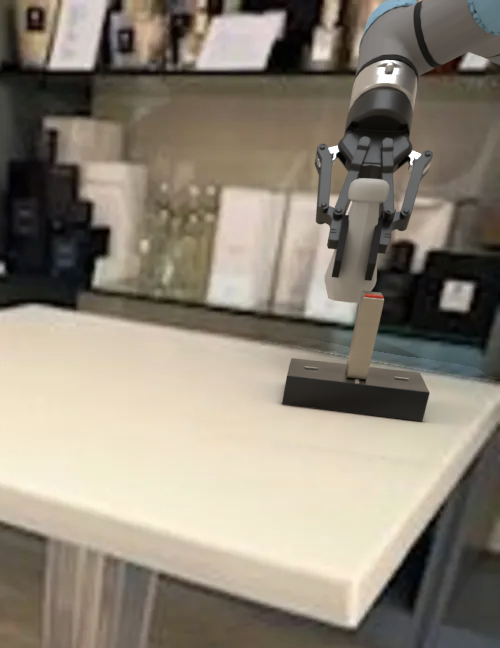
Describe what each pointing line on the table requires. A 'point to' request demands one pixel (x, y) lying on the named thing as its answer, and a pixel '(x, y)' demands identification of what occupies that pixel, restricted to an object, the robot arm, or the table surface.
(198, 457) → the table surface
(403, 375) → the rectangular base
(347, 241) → the salt shaker
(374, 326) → the beige rectangular block
